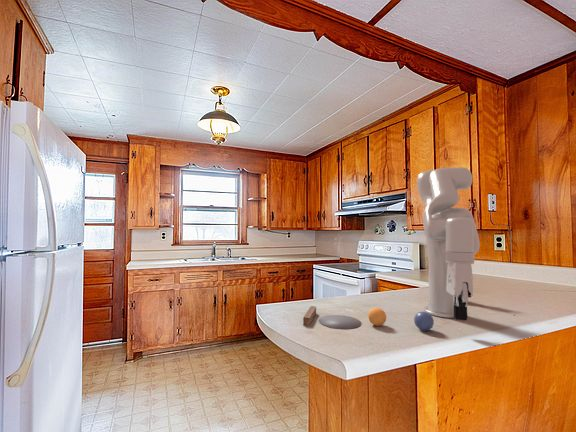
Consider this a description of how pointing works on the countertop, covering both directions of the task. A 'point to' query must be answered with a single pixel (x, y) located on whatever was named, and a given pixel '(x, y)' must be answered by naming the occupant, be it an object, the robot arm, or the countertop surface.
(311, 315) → the rail
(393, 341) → the countertop surface
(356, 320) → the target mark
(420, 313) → the blue ball
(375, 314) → the object ball
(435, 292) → the robot arm
